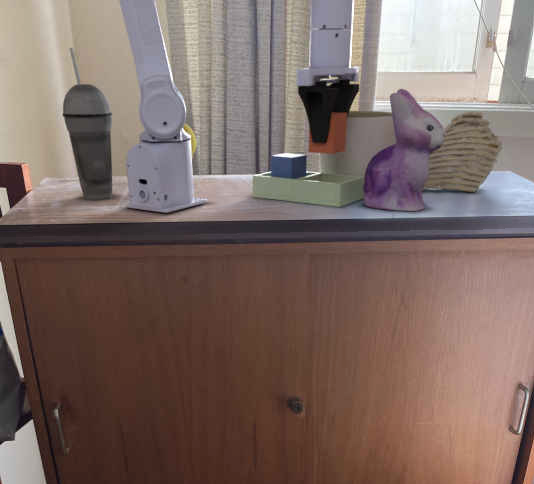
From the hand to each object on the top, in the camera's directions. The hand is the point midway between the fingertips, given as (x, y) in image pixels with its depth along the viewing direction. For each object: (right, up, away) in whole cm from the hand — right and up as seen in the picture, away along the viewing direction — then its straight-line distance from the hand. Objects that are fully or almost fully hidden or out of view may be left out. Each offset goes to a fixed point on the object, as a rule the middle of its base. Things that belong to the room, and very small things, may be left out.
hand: (327, 140), depth 100 cm
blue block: (-5, -4, +8) cm, 10 cm away
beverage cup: (-36, -5, +8) cm, 37 cm away
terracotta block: (0, -1, +1) cm, 1 cm away
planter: (+6, -1, +14) cm, 15 cm away
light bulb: (-24, 0, +16) cm, 28 cm away
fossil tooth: (+21, -2, +12) cm, 25 cm away
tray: (-2, -5, +7) cm, 9 cm away
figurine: (+10, -9, +1) cm, 14 cm away
